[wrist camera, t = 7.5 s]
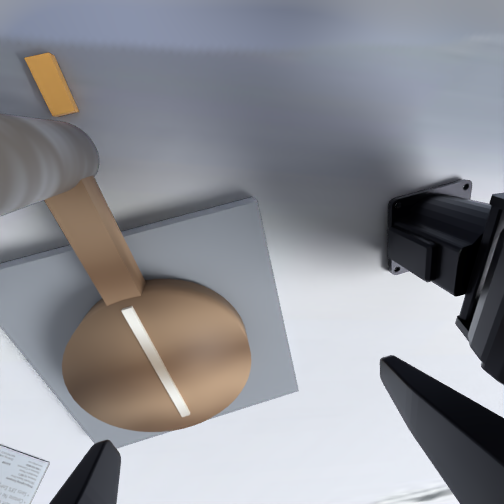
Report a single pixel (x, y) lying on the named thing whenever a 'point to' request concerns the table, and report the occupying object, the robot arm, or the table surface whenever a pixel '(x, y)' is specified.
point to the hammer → (124, 297)
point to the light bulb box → (19, 476)
